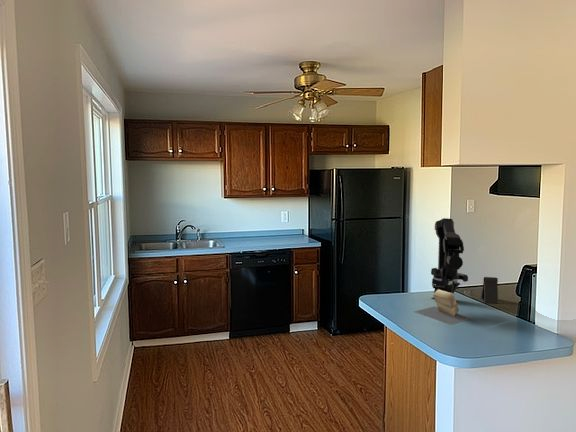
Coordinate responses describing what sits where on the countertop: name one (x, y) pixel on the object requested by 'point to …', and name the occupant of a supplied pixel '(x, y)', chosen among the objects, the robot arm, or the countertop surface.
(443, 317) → the mat
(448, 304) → the maple block
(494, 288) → the phone stand
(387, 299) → the countertop surface
